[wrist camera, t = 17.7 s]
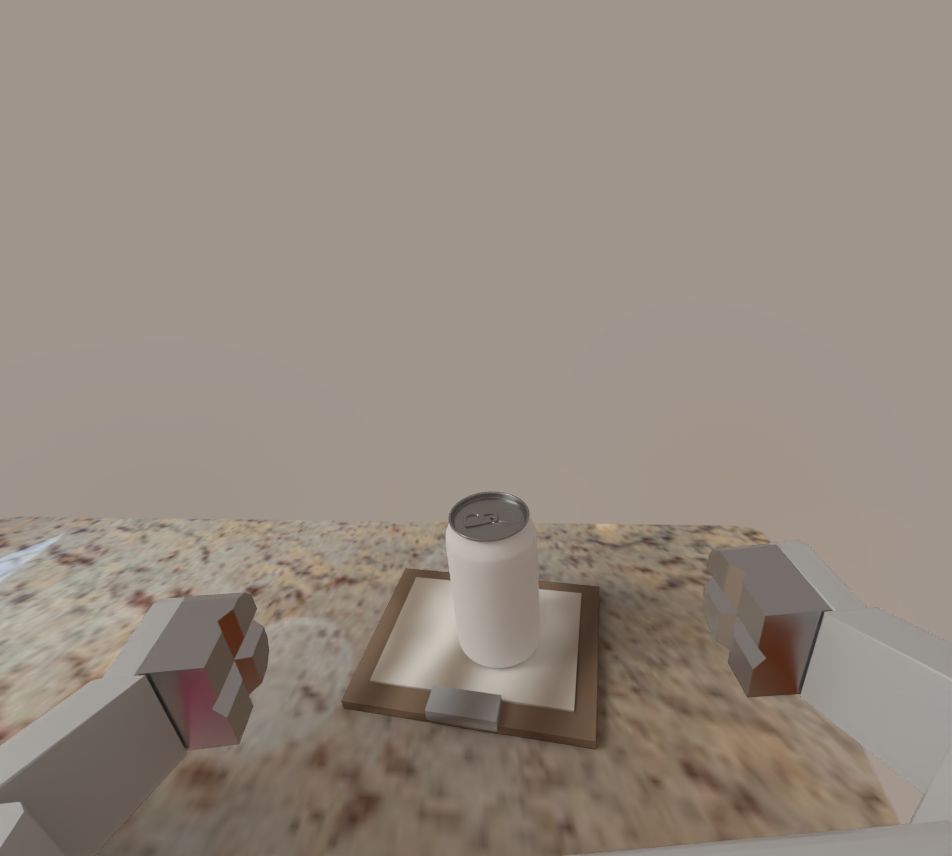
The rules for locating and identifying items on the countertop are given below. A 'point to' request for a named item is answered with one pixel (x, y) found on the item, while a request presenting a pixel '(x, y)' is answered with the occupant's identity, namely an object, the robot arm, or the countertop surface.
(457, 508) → the can
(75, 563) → the countertop surface
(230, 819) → the countertop surface
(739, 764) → the countertop surface
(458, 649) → the clipboard
